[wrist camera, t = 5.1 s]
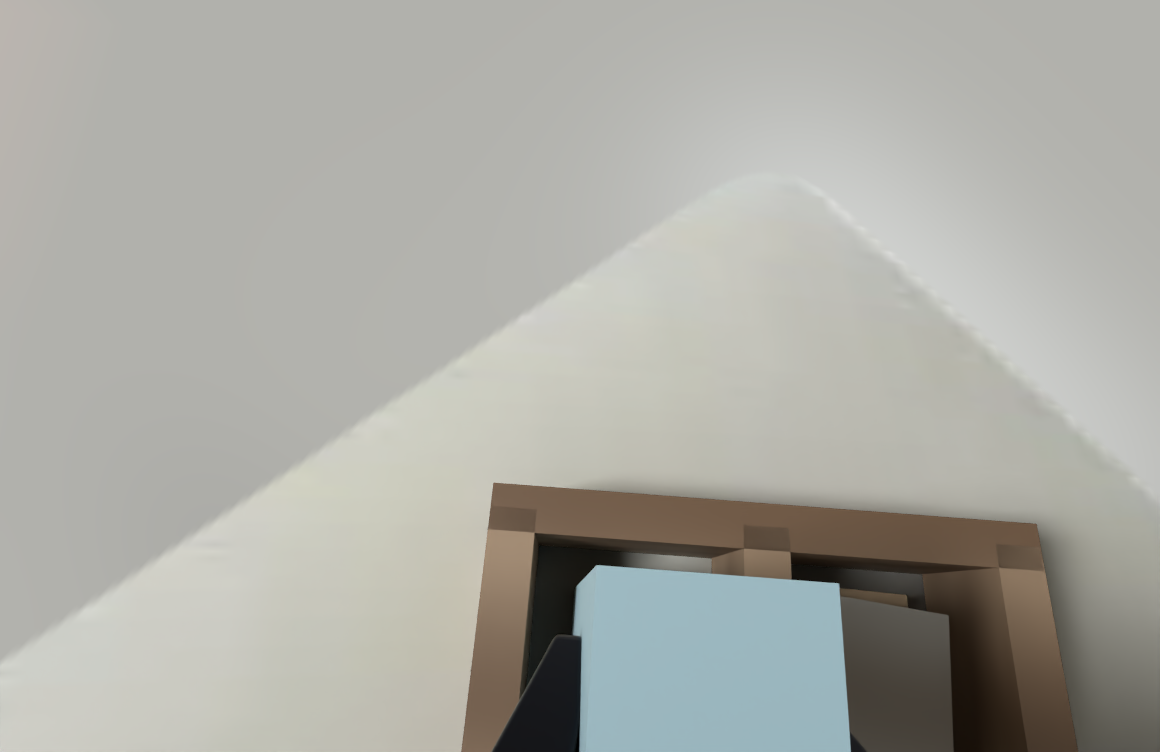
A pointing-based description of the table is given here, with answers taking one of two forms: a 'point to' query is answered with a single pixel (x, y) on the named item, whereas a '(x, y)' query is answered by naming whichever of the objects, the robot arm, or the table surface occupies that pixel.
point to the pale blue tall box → (709, 663)
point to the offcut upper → (897, 677)
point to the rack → (767, 549)
